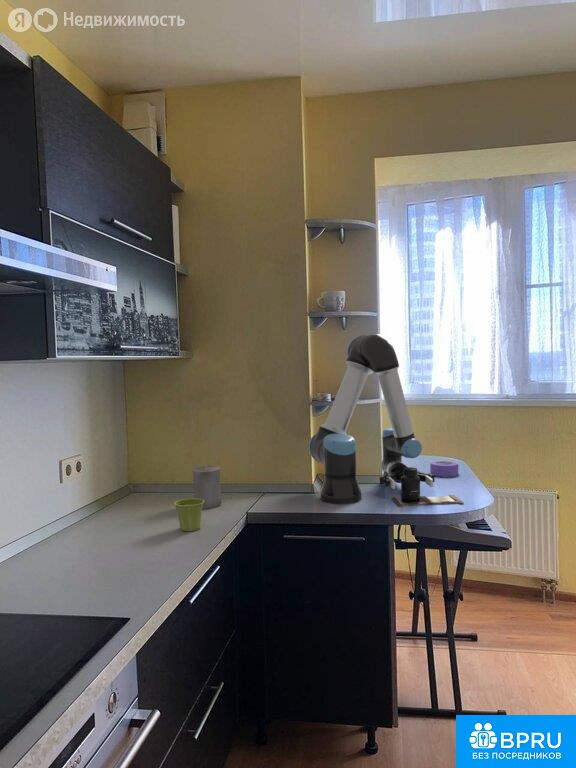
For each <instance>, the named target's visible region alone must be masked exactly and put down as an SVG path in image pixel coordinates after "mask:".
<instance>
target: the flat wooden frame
mask: <svg viewBox="0 0 576 768" xmlns="http://www.w3.org/2000/svg"><path fill="white" fill-rule="evenodd" d="M391 500H392V502H393V503H394V504H395V505H396V506H397V507H398V508H403V507H410V506H411V507H412V506H413V507H414V506H431V505H432V506H434V505H435V506H436V505H437V506H438V505H454V504H457V505H464V504H465V503H464V501H463V500H461V499H459V498H458V497H457V496H456V495H454V494H449V495H447V496H446V495H445V496H425V495H420V500H421V501H423V502H410V503H402V502H401V501H400V500H399V499H398V498H397V497H393V496H392V497H391ZM407 505H408V506H407Z"/></svg>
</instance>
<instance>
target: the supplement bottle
mask: <svg viewBox="0 0 576 768" xmlns="http://www.w3.org/2000/svg"><path fill="white" fill-rule="evenodd" d="M417 471H418V468H417V467H412V466H411V467H410V466H409V467H408V466H407V468H404V472H403V473H404V475H403V476H402V477H401V483H400V502H401V503H403V504H405V503H410V502H419V503H421V502H420V501H421V499H420V496H421V481H420V478H419V476H417Z"/></svg>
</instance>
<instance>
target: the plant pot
mask: <svg viewBox="0 0 576 768" xmlns="http://www.w3.org/2000/svg"><path fill="white" fill-rule="evenodd" d="M203 503H204V500H202V499H194V498H184V499H179V500H176V501H174V504H173V505H175V508H176V510H177V516H178V521H179V528H180V531H182V532H184V531H185V532H195V531H197V530H199V529H200V528H201V524H202V511H203V509H202V507H203ZM200 530H201V529H200Z"/></svg>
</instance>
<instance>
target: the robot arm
mask: <svg viewBox="0 0 576 768" xmlns="http://www.w3.org/2000/svg"><path fill="white" fill-rule="evenodd" d="M346 353H347V358H346V361H345V363H346V366H347V369H346V371H345V374H344V376H343V379H342V381H341V383H340V386H339V389H338V391H337V393H336V396H335V397H334V398H335V399H334V401H333V403H332V405H331V408H330V410H329V413H328V415H327V418H326V421H325V423H323V424H320V426H319V428H318V430H317V432H316V433H315V434H314V435H312V437H310V440H309V442H308V451H309V455H310V456H311V457H312V459H313V460H314V461H316V462H317V463H319V464H321V465H324V480H323V483H322V486H321V490H320V500H321V501H322V502H325V503H328V504H335V505H338V504H342V505H343V504H353V503H358V502H360V501H361V500H362V499H363V498H362V497H363V496H362V490H361V487H360V485H359V482H358V479H357V445H356V439H355V438H354V437H353V436H352V435H349V434H347V429H348V427H349V426H348V425H349V424H350V421H351V419H352V416H353V414H354V411H355V409H356V406H357V404H358V401H359V399H360V396H361V394H362V392H363V389H364V386H365V384H366V382H367V379H368V378H369V377H368V376H369V375H371V374H376V375H377V378H378V381H379V384H380V388H381V392H382V395H383V399H384V403H385V407H386V410H387V414H388V418H389V421H390V424H391V425H390V426H391V427H389V428H384V429H383V430H382V436H381V437H382V438H381V439H382V460H381V464H380V467H381V470H382V471H383V474H382V475H380V477H379V485H384V486H385V487H389V486H390V488H391V489H393V490H395V489H396V484H401V477H402V476H403V475H404V473H403V472H404V468H407V467H408V466H407V465H406V464H405V463H403V460H402V458H403V457H404V458H406V459H416V458H418V457H419V456H420V455H421V454H422V452H423V446H422V443H421V442H420V441H419V440H418V439H417V438H416V437H415V432H414V428H413V425H412V421H411V417H410V414H409V409H408V406H407V401H406V397H405V394H404V389H403V387H402V383H401V379H400V375H399V372H398V369H399V367H400V365H399V364H400V363H399V360H398V357H397V352H396V350H395V348H394V346H393V344H392V343H391V341H390V340H389V339H388V337H386V336H385V335H382V334H378V333H374V334H360V335H358V336H355V337H354V338H353V339H351V341H350V342H349V343H348V345H347V349H346ZM417 476H419V478H420V482H421V483H422V482H424V483H425V484H426V485H427V486H428V487H430V488H434V483H435V476H434V475H432V474H430V473H428V472H423V471H421V470H417Z"/></svg>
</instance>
